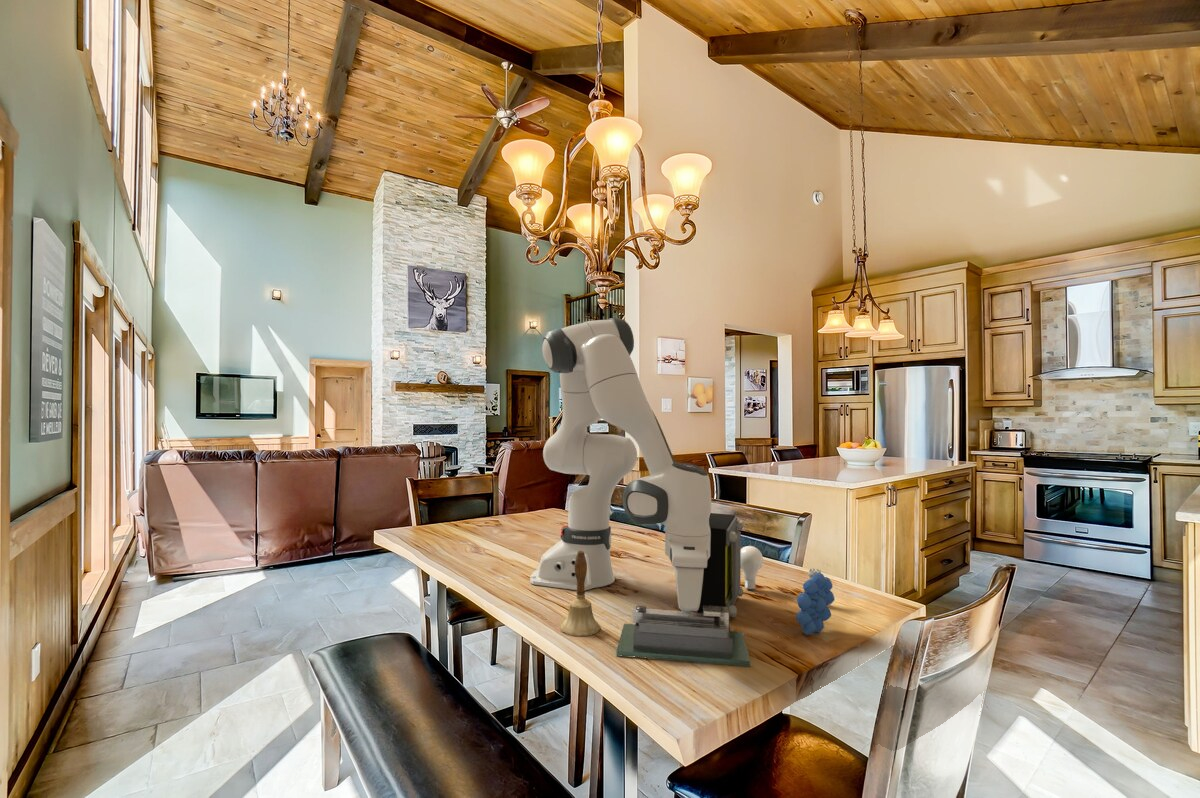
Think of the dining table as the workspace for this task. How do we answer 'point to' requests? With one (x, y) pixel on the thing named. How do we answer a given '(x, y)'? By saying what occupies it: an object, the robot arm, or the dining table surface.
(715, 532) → the electrical component
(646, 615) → the grey metal bar
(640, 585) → the dining table surface
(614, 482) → the robot arm
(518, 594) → the dining table surface
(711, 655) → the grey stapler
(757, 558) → the lightbulb
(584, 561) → the hand bell
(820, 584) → the grapes
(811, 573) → the rook chess piece
